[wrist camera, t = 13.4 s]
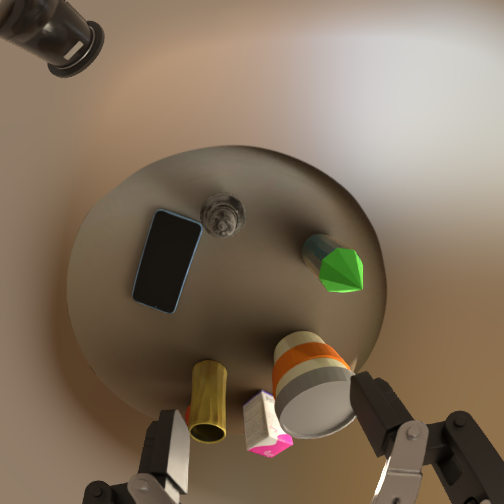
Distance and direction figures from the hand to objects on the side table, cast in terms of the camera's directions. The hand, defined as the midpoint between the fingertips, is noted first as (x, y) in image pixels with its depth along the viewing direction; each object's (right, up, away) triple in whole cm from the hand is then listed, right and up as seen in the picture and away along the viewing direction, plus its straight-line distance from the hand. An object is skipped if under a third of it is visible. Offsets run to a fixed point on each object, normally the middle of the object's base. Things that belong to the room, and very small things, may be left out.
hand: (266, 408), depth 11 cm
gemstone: (+10, +5, +22) cm, 25 cm away
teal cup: (+9, +7, +31) cm, 33 cm away
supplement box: (+1, -22, +38) cm, 44 cm away
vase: (-8, -14, +35) cm, 39 cm away
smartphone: (-13, +5, +29) cm, 32 cm away
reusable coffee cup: (+7, -10, +35) cm, 38 cm away
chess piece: (-5, +13, +28) cm, 31 cm away
